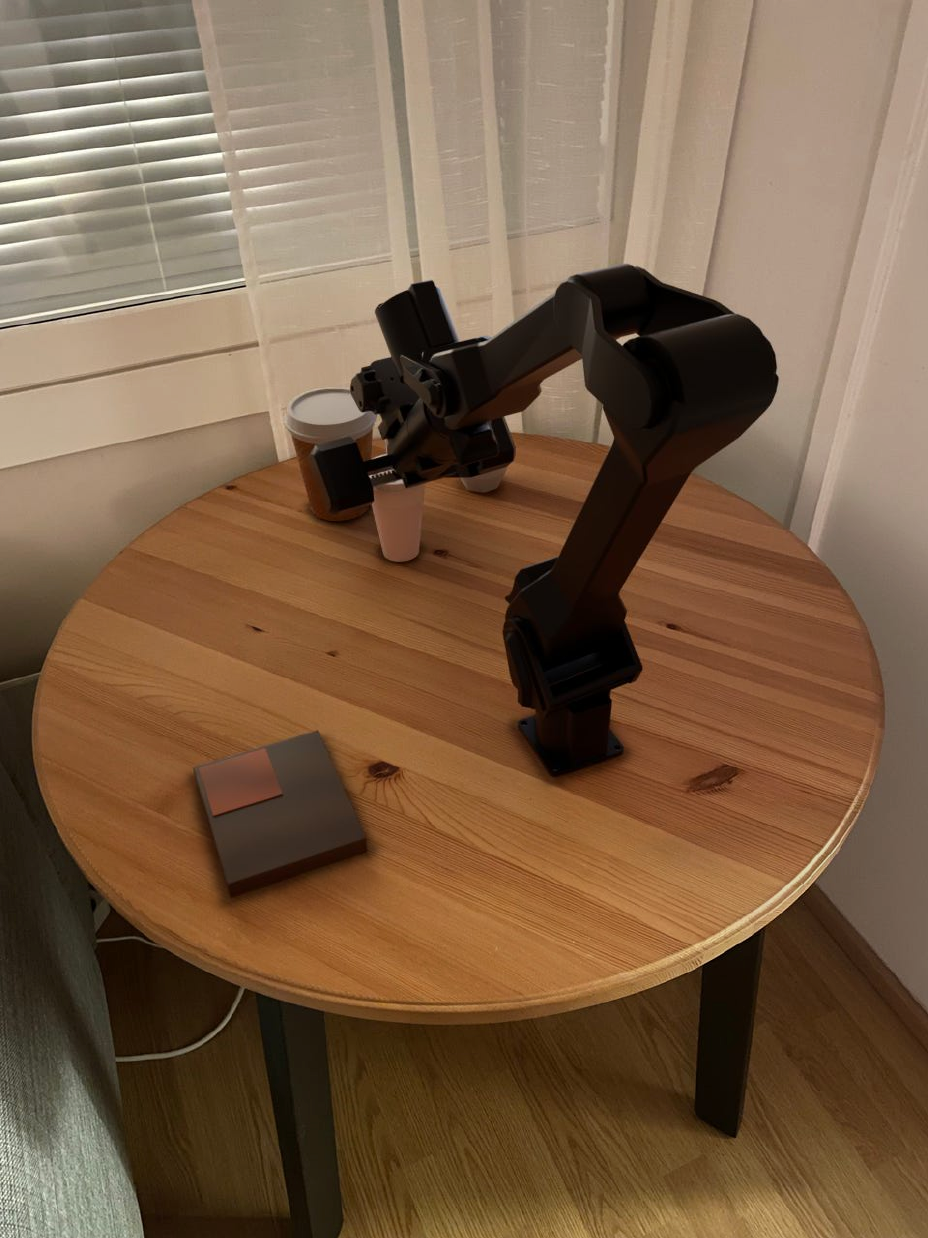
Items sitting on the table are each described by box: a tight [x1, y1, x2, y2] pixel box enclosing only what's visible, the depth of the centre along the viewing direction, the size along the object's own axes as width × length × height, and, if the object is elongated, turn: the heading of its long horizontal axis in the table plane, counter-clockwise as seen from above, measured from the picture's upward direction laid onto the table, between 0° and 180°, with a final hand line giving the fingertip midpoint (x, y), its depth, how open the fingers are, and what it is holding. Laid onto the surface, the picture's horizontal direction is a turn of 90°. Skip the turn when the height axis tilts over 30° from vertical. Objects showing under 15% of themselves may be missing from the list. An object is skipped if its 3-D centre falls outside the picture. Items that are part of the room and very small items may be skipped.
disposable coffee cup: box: [283, 386, 378, 522], centre depth 106 cm, size 10×10×12 cm
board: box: [192, 729, 368, 898], centre depth 75 cm, size 12×10×2 cm
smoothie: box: [369, 439, 426, 563], centre depth 98 cm, size 6×6×14 cm
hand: (391, 483), depth 99 cm, fingers open, 9 cm apart
